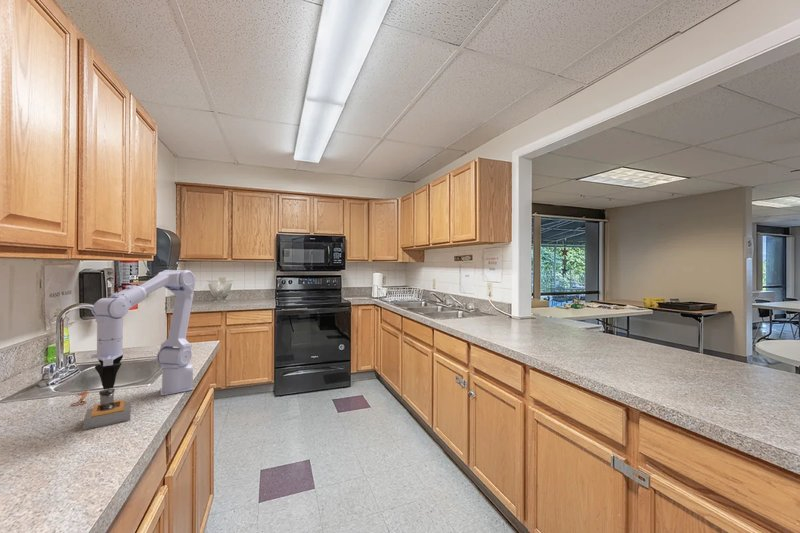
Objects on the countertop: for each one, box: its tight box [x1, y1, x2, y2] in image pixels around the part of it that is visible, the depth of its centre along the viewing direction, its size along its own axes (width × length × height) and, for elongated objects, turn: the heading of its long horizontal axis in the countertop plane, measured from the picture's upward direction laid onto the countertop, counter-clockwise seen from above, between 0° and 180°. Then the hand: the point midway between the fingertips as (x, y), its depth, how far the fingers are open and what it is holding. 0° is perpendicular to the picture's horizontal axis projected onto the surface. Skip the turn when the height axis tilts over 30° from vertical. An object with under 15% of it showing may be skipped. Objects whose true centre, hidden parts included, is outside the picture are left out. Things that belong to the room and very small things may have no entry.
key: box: [69, 389, 90, 407], centre depth 112 cm, size 6×1×15 cm
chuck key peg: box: [98, 388, 116, 411], centre depth 97 cm, size 3×3×6 cm
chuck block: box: [83, 399, 132, 431], centre depth 97 cm, size 10×8×4 cm
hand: (109, 384), depth 97 cm, fingers open, 7 cm apart
